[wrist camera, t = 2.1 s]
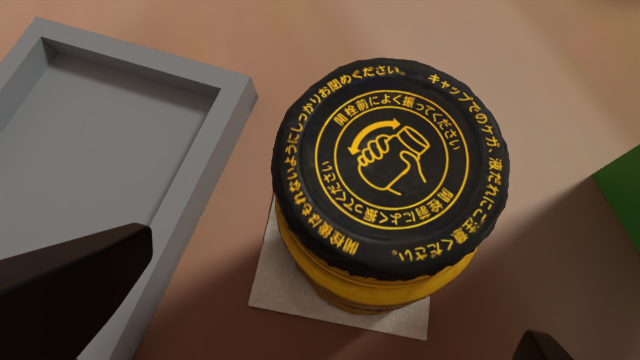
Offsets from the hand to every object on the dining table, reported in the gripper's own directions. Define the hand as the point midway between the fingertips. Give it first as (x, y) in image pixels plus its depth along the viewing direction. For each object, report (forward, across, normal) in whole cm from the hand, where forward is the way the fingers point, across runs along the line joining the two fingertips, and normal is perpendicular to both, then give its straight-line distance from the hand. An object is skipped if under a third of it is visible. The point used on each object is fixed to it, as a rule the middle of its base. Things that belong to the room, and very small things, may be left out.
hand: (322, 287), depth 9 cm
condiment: (+9, 0, +5) cm, 11 cm away
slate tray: (+9, +15, +5) cm, 19 cm away
